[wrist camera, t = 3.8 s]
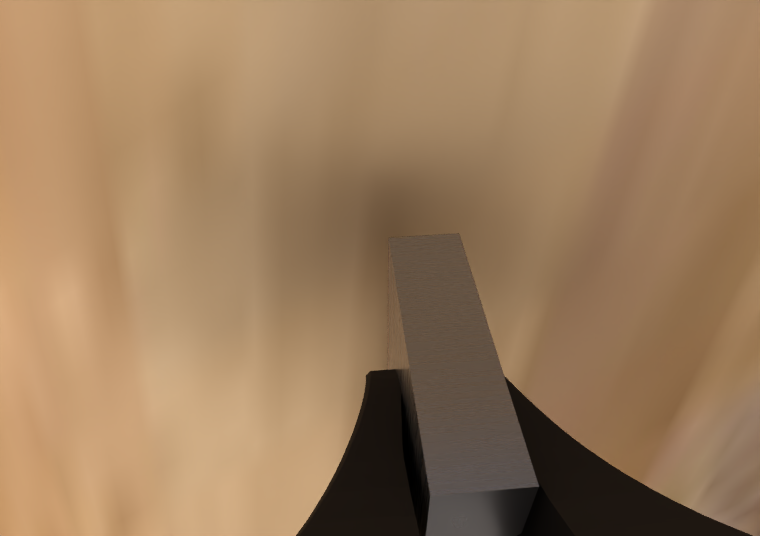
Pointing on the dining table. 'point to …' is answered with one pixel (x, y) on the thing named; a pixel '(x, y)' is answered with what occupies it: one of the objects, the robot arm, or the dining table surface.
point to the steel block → (453, 396)
